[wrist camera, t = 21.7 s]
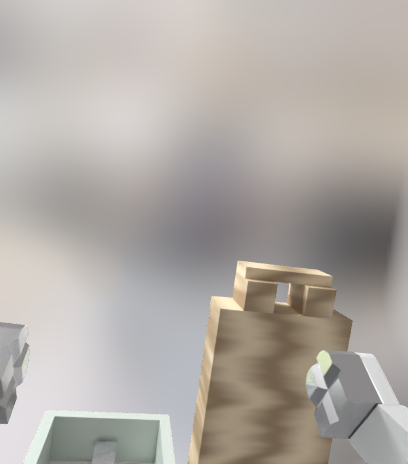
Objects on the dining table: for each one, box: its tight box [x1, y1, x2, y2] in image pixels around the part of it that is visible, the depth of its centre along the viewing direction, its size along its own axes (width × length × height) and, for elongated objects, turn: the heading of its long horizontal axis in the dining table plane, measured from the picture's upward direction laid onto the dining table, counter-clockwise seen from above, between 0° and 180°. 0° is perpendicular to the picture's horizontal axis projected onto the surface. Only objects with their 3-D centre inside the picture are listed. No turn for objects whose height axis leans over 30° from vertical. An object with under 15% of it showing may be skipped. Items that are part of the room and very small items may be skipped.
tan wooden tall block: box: [188, 261, 352, 464], centre depth 36 cm, size 12×4×30 cm, turn 99°
